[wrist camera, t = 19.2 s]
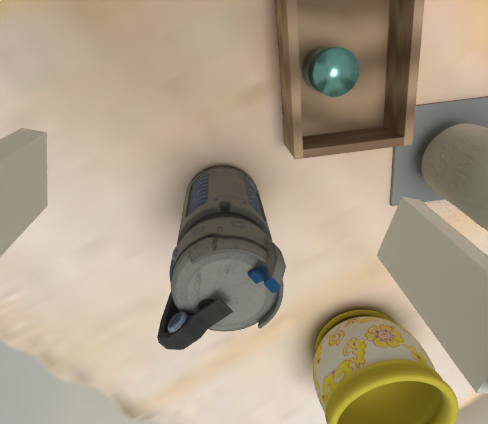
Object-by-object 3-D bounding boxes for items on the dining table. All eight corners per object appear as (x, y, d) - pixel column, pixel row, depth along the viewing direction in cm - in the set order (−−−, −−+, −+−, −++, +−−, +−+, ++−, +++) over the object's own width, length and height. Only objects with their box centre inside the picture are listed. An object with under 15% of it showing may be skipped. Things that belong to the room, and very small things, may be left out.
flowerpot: (332, 388, 71) (364, 481, 56) (283, 330, 64) (304, 418, 49) (419, 344, 67) (477, 430, 53) (377, 277, 61) (430, 354, 46)
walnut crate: (273, -31, 42) (284, -44, 35) (397, -46, 42) (429, -61, 36) (284, 144, 50) (294, 159, 44) (387, 131, 50) (412, 144, 44)
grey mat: (396, 107, 49) (398, 108, 49) (500, 94, 50) (503, 95, 49) (389, 204, 55) (391, 206, 55) (482, 192, 55) (485, 194, 55)
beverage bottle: (158, 203, 52) (115, 327, 30) (231, 144, 50) (245, 232, 27) (205, 250, 56) (199, 393, 34) (276, 198, 53) (321, 315, 31)
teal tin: (300, 49, 44) (313, 50, 39) (342, 44, 45) (360, 44, 39) (302, 92, 47) (314, 99, 41) (342, 87, 47) (359, 94, 41)
